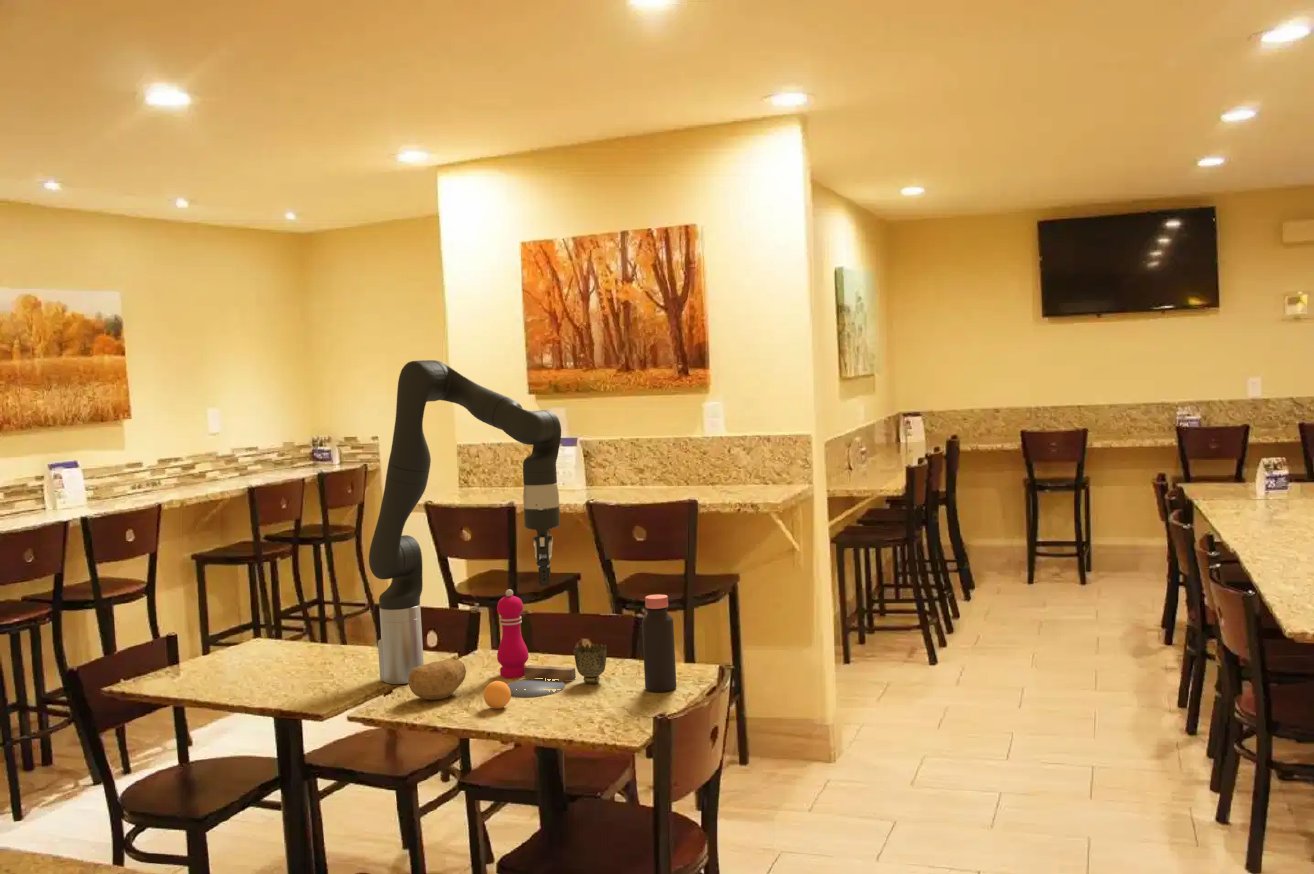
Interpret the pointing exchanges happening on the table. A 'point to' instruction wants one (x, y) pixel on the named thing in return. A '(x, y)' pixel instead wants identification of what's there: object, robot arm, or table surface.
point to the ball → (497, 694)
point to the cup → (590, 662)
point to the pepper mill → (511, 637)
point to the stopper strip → (549, 672)
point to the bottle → (658, 645)
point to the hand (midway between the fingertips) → (545, 581)
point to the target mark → (534, 687)
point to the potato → (437, 679)
